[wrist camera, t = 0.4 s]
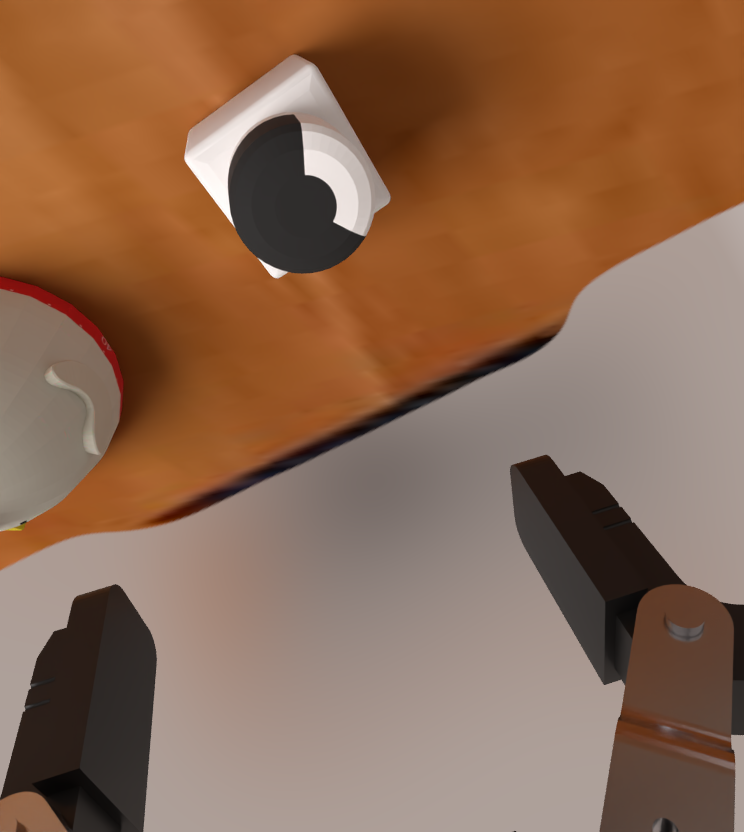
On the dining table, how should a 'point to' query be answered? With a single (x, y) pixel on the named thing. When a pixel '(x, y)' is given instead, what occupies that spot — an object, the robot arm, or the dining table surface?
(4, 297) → the kitchen timer
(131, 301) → the dining table surface
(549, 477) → the robot arm
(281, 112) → the medicine bottle
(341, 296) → the dining table surface
